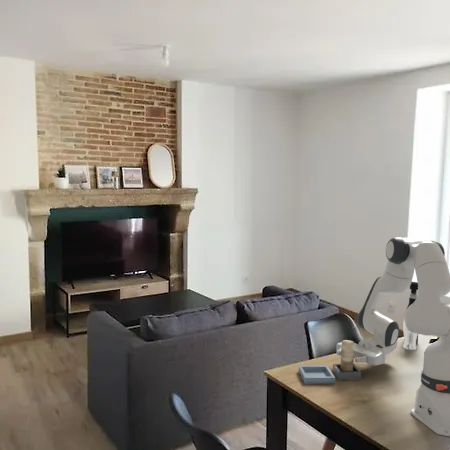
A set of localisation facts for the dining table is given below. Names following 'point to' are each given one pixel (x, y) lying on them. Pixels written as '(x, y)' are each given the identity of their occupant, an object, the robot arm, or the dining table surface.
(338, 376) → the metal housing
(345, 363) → the peg
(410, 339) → the beer glass
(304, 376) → the tray
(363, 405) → the dining table surface
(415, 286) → the black chrome pepper mill
